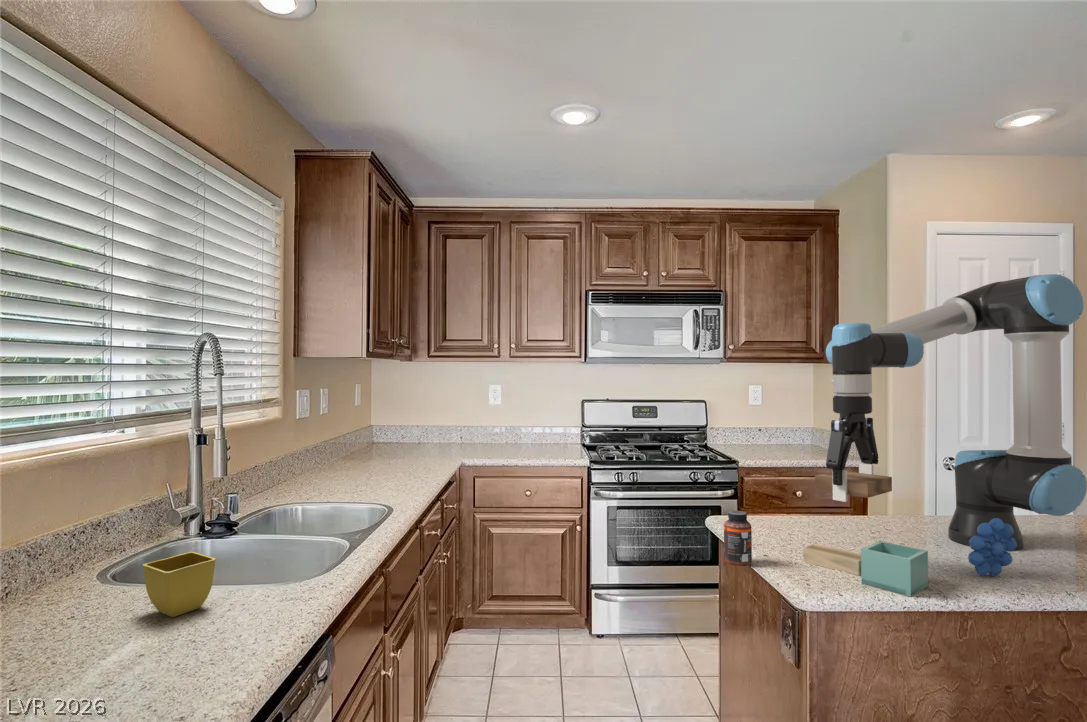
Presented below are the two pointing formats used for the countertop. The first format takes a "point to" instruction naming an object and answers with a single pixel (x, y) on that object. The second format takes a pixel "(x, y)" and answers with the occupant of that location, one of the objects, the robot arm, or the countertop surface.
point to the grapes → (992, 547)
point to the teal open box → (894, 568)
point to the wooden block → (833, 558)
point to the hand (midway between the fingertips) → (853, 496)
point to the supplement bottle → (737, 539)
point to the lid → (857, 484)
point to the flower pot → (179, 582)
